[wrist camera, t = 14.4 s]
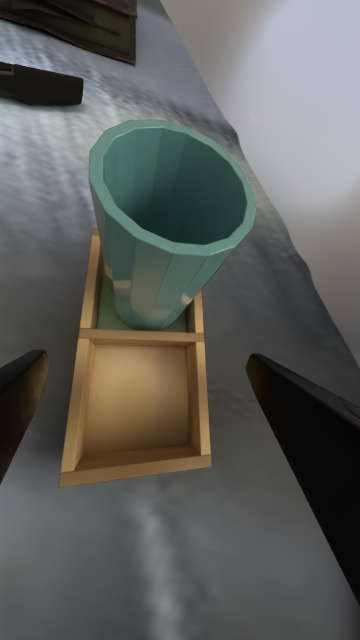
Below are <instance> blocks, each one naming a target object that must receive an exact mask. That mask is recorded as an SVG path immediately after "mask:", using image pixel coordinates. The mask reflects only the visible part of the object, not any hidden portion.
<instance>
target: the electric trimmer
mask: <svg viewBox="0 0 360 640" xmlns="http://www.w3.org/2000/svg"><path fill="white" fill-rule="evenodd" d="M0 96H4V97H13V98H20V99H21V100H23V101H25V102H26V103H28V104H43V105H79V104H81V102H82V96H83V79H82V78H79V77H74V76H69V75H64V74H60V73H55V72H50V71H45V70H40V69H36V68H31V67H26V66H22V65H18V64H14V65H13V64H10V63H4V62H0Z"/></svg>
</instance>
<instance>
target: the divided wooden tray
mask: <svg viewBox="0 0 360 640" xmlns="http://www.w3.org/2000/svg"><path fill="white" fill-rule="evenodd" d="M203 333H204V331H203V314H202V296H201V291H200V292H199V293H198V294H197V296H196V297H195V298H194V299H193V300H192V302H191V303H190V304H189V305H188V306H187V308H186V309H185V310H184V311H183V312H182V314H181V315H180V316H179V317H178V318H177V319H176V321H175V322H174V323H173V324H172V325H171V326H169V327H168V328H166V329H164V330H162V331H136V330H133V329H131V328H129V327H128V326H126V325H125V324H124V323H122V322H121V321H120V319H119V318H118V317H117V315H116V314H115V312H114V309H113V306H112V304H111V299H110V294H109V288H108V283H107V277H106V272H105V266H104V261H103V255H102V250H101V244H100V239H99V233H98V228H93V232H92V240H91V247H90V254H89V262H88V269H87V277H86V284H85V292H84V299H83V307H82V314H81V322H80V329H79V339H78V344H77V352H76V359H75V367H74V374H73V381H72V389H71V396H70V404H69V411H68V419H67V426H66V434H65V441H64V449H63V456H62V464H61V473H60V478H59V486H58V487H59V488H61V487H68V486H75V485H82V484H90V483H97V482H104V481H111V480H118V479H125V478H132V477H139V476H146V475H153V474H160V473H167V472H174V471H181V470H188V469H195V468H202V467H209V466H211V455H210V436H209V418H208V400H207V383H206V365H205V347H204V334H203Z"/></svg>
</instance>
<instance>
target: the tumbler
mask: <svg viewBox="0 0 360 640" xmlns="http://www.w3.org/2000/svg"><path fill="white" fill-rule="evenodd" d="M89 184H90V189H91V195H92V200H93V206H94V211H95V217H96V222H97V228H98V233H99V239H100V244H101V250H102V255H103V261H104V266H105V272H106V277H107V283H108V288H109V294H110V299H111V304H112V306H113V309H114V312H115V314H116V315H117V317H118V318H119V319H120V321H121V322H122V323H124V324H125V325H126V326H128V327H129V328H131V329H133V330H136V331H162V330H164V329H166V328H168V327H169V326H171V325H172V324H173V323H174V322H175V321H176V319H177V318H178V317H179V316H180V315H181V314H182V312H183V311H184V310H185V309H186V308H187V306H188V305H189V304H190V303H191V302H192V300H193V299H194V298H195V297H196V296H197V294H198V293H199V292H200V291H201V290H202V288H203V287H204V286H205V285H206V284H207V283H208V281H209V280H210V279H211V278H212V277H213V275H214V274H215V273H216V272H217V271H218V269H219V268H220V267H221V266H222V265H223V263H224V262H225V261H226V260H227V259H228V257H229V256H230V255H231V254H232V253H233V251H234V250H235V249H236V248H237V247H238V245H239V244H240V243H241V242H242V241H243V239H244V238H245V237H246V236H247V235H248V233H249V232H250V231H251V229H252V226H253V221H254V216H255V211H256V202H255V198H254V194H253V190H252V186H251V183H250V181H249V180H248V178H247V177H246V175H245V174H244V172H243V171H242V169H241V168H240V166H239V165H238V163H237V162H236V161H235V159H234V158H233V157H231V156H230V155H229V154H228V153H227V152H226V151H225V150H223V149H222V148H221V147H220V146H219V145H218V144H217V143H216V142H214V141H213V140H211V139H209V138H207V137H205V136H203V135H202V134H200V133H198V132H196V131H194V130H192V129H190V128H187V127H185V126H182V125H178V124H174V123H170V122H166V121H162V120H130V121H126V122H124V123H122V124H119V125H117V126H115V127H112V128H110V129H107V130H106V131H105V132H104V133H103V134H102V136H101V137H100V138H99V140H98V141H97V142H96V144H95V145H94V146H93V148H92V149H91V150H90V155H89Z"/></svg>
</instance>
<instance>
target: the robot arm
mask: <svg viewBox="0 0 360 640" xmlns="http://www.w3.org/2000/svg"><path fill="white" fill-rule="evenodd" d="M246 372H247V375H248V377H249V380H250V383H251V385H252V388H253V390H254V393H255V396H256V398H257V400H258V402H259V404H260V406H261V408H262V410H263V412H264V414H265V416H266V418H267V420H268V423H269V425H270V427H271V429H272V431H273V433H274V435H275V437H276V439H277V441H278V443H279V445H280V447H281V449H282V451H283V453H284V455H285V457H286V459H287V461H288V463H289V465H290V467H291V469H292V471H293V473H294V475H295V477H296V479H297V481H298V483H299V485H300V487H301V489H302V491H303V493H304V495H305V497H306V499H307V501H308V503H309V505H310V507H311V509H312V511H313V513H314V515H315V517H316V519H317V521H318V523H319V525H320V527H321V529H322V531H323V533H324V535H325V537H326V539H327V541H328V543H329V545H330V548H331V550H332V552H333V554H334V556H335V558H336V560H337V562H338V564H339V566H340V568H341V570H342V572H343V574H344V576H345V578H346V580H347V582H348V584H349V586H350V588H351V590H352V592H353V594H354V596H355V598H356V600H357V601H358V603H359V605H360V408H359V407H358V406H356V405H354V404H352V403H350V402H348V401H346V400H344V399H343V398H341V397H339V396H336V395H335V394H333V393H331V392H330V391H328V390H326V389H324V388H322V387H320V386H319V385H317V384H315V383H313V382H311V381H309V380H308V379H306V378H304V377H302V376H300V375H298V374H296V373H295V372H293V371H291V370H289V369H287V368H285V367H284V366H282V365H280V364H278V363H276V362H274V361H273V360H271V359H269V358H267V357H265V356H263V355H262V354H258V353H253V354H251V355H250V357H249V360H248V362H247V365H246ZM48 373H49V362H48V356H47V352H46V351H45V350H32V351H30V352H29V353H27V354H25V355H23V356H21V357H19V358H18V359H16V360H14V361H12V362H10V363H8V364H6V365H5V366H3V367H1V368H0V484H1V482H2V480H3V478H4V476H5V474H6V472H7V470H8V467H9V465H10V463H11V461H12V459H13V457H14V455H15V453H16V451H17V449H18V447H19V444H20V442H21V440H22V438H23V436H24V434H25V432H26V430H27V428H28V426H29V424H30V421H31V419H32V417H33V415H34V413H35V411H36V408H37V405H38V403H39V400H40V397H41V394H42V391H43V388H44V385H45V382H46V379H47V376H48Z"/></svg>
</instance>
